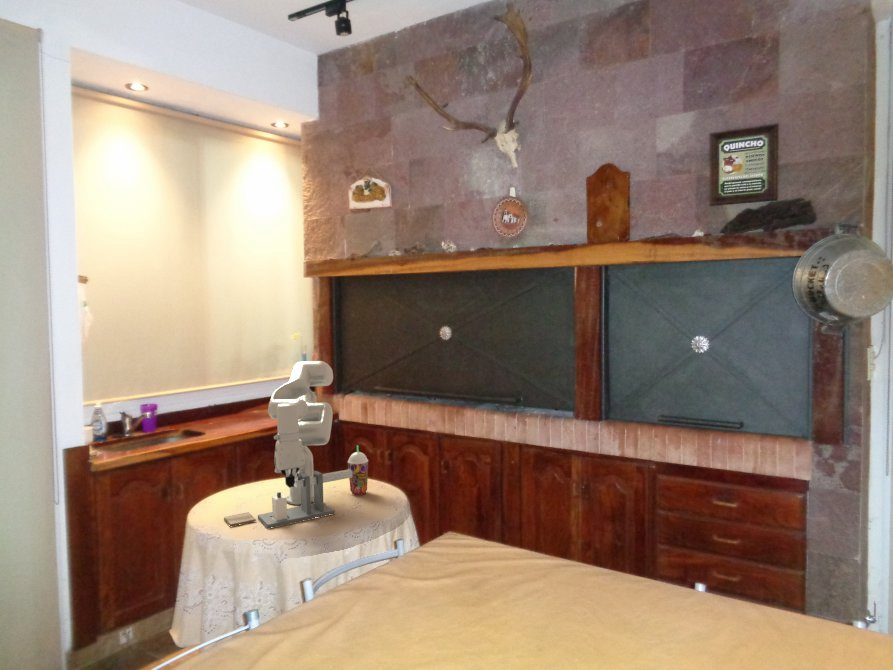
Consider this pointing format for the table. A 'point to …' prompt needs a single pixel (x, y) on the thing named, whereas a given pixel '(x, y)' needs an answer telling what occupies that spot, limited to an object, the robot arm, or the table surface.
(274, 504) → the plug
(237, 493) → the table surface
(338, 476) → the bolt
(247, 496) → the table surface
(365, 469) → the smoothie
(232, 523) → the pad
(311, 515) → the socket block
